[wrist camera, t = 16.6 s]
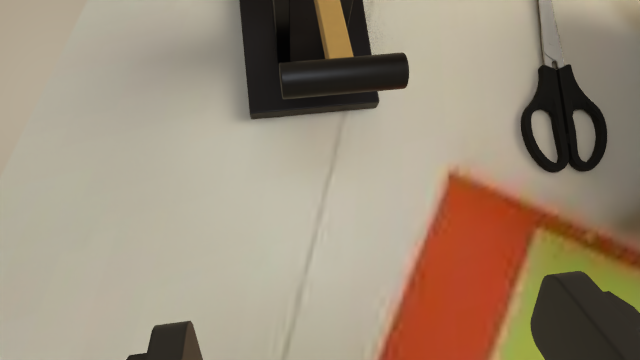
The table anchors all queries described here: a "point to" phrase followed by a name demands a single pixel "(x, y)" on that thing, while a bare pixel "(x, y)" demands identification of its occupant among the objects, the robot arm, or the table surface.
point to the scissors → (560, 104)
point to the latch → (341, 63)
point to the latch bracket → (295, 54)
